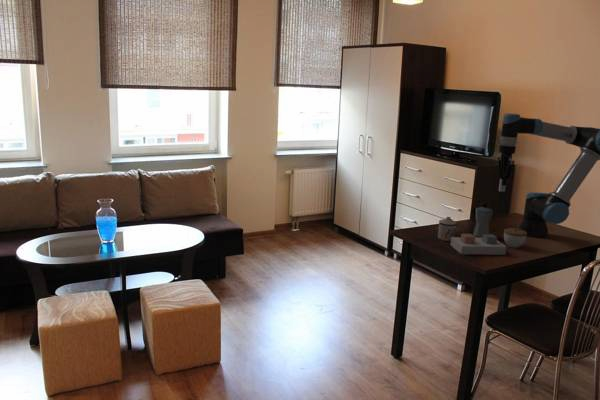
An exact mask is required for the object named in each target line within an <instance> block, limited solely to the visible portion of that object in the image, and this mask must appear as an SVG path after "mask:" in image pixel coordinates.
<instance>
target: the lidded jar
mask: <svg viewBox="0 0 600 400" xmlns="http://www.w3.org/2000/svg"><path fill="white" fill-rule="evenodd" d="M526 235H527V232H526V231H523V230H520V229H518V228H517V227H514V228H512V227H511V228H510V227H508V228H505V229H504V230H503V240H504V243H505V244H506V245H507V246H508V247H509V248H516V249H517V248H521V246H523V245H524V244H525V242H526V240H527V236H526ZM507 246H506V247H507Z"/></svg>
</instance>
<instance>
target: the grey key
mask: <svg viewBox="0 0 600 400" xmlns="http://www.w3.org/2000/svg"><path fill="white" fill-rule="evenodd" d="M482 241H483V242H484V243H486V244H496V243H497V241H498V236H496V235H494V234H492V233H491V234H490V233H489V234H483V238H482Z"/></svg>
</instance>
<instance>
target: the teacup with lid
mask: <svg viewBox="0 0 600 400" xmlns="http://www.w3.org/2000/svg"><path fill="white" fill-rule="evenodd" d="M458 231H459V224H458V223H457V221H455V220H453V219H452V218H451V216H446V218H444V219H440V220H439V221H438V231H437V238H438V240H441V241H446V242H451V237H456V233H457V232H458Z"/></svg>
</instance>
